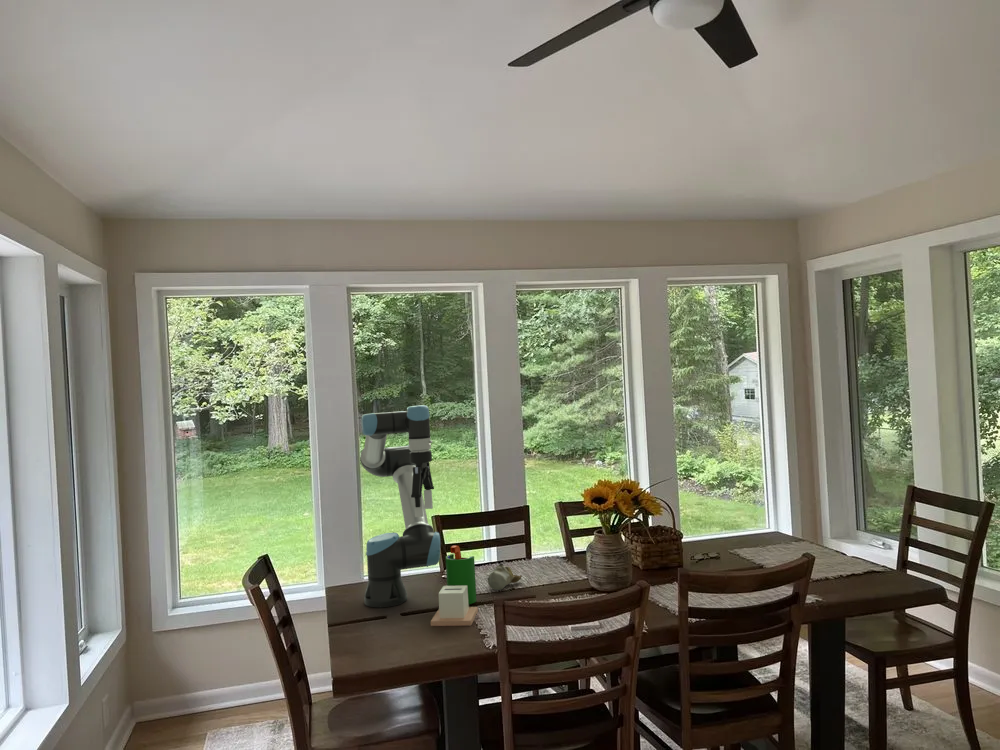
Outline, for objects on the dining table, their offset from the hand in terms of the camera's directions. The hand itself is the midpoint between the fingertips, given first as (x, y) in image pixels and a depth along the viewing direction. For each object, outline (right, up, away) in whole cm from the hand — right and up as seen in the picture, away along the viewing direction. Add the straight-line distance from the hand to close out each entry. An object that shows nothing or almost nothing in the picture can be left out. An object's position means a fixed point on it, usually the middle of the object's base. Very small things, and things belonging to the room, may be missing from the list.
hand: (424, 512), depth 245 cm
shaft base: (+11, -32, -12) cm, 36 cm away
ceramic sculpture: (+27, -31, +20) cm, 46 cm away
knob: (+11, -31, -12) cm, 35 cm away
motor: (+13, -32, +5) cm, 35 cm away
